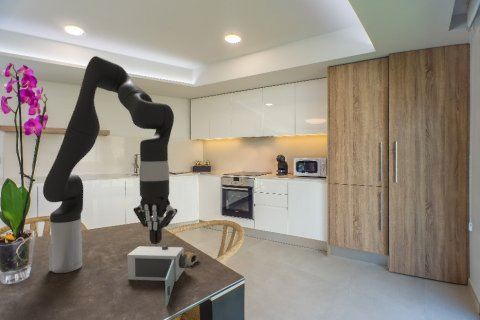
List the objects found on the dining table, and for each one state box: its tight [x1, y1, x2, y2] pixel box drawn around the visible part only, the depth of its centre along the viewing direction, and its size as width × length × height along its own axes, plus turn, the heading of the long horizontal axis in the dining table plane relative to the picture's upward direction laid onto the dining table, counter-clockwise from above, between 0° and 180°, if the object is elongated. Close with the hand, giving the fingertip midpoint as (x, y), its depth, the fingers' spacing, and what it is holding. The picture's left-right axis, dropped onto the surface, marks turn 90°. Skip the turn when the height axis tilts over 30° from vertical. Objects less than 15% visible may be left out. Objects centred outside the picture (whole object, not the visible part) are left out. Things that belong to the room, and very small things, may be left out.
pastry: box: [184, 251, 199, 267], centre depth 106 cm, size 9×7×4 cm
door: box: [164, 258, 177, 306], centre depth 82 cm, size 15×1×7 cm, turn 5°
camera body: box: [126, 244, 188, 282], centre depth 95 cm, size 18×8×9 cm, turn 84°
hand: (155, 242), depth 76 cm, fingers closed
